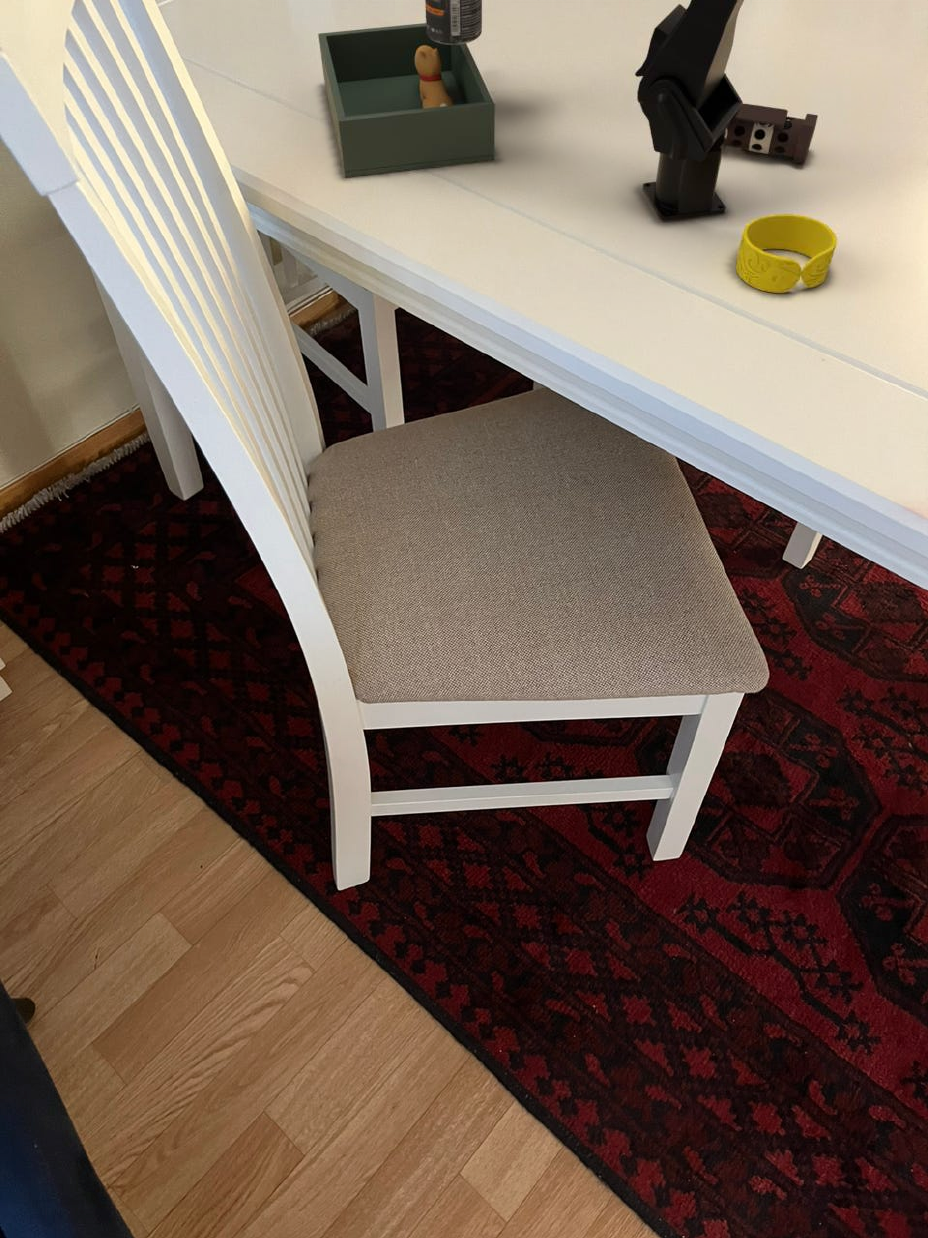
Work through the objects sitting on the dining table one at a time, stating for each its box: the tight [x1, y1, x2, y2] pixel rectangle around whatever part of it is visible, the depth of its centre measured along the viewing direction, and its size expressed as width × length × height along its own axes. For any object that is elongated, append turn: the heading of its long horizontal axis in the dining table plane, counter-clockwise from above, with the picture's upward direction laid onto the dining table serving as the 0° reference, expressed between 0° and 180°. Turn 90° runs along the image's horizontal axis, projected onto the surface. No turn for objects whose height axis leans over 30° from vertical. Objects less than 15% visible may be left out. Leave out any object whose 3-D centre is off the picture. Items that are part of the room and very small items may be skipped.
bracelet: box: [735, 213, 838, 294], centre depth 83 cm, size 7×8×3 cm
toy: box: [415, 45, 454, 109], centre depth 101 cm, size 3×17×5 cm, turn 11°
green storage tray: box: [317, 22, 496, 178], centre depth 101 cm, size 22×16×6 cm
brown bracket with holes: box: [723, 103, 819, 165], centre depth 95 cm, size 4×11×5 cm
